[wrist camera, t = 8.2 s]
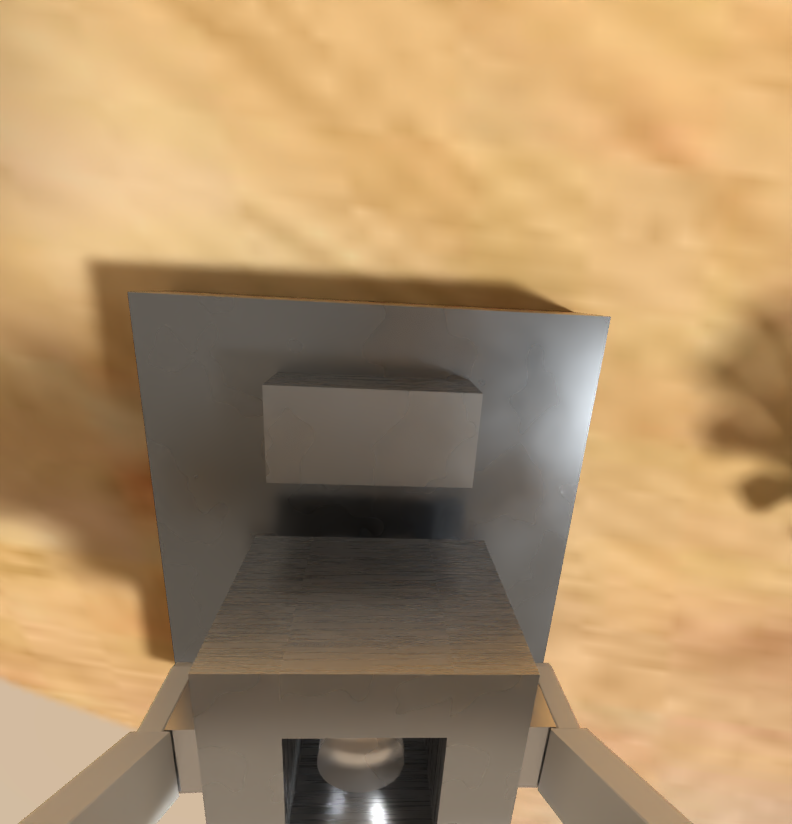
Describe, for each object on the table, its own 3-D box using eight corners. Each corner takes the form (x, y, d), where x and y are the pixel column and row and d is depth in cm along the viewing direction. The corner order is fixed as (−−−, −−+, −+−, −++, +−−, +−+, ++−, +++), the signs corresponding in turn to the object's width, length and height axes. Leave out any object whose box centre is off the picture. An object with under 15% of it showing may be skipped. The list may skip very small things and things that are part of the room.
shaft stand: (167, 291, 12) (-62, 295, 6) (574, 312, 13) (769, 336, 6) (206, 671, 16) (96, 919, 10) (513, 671, 17) (596, 901, 10)
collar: (255, 535, 11) (188, 673, 7) (483, 540, 11) (539, 675, 7) (265, 708, 12) (215, 895, 9) (461, 708, 13) (497, 888, 9)
